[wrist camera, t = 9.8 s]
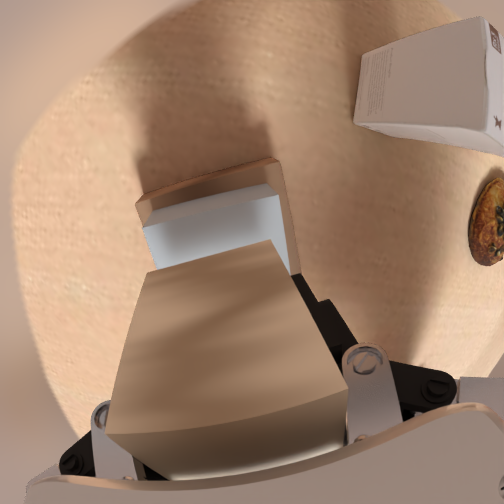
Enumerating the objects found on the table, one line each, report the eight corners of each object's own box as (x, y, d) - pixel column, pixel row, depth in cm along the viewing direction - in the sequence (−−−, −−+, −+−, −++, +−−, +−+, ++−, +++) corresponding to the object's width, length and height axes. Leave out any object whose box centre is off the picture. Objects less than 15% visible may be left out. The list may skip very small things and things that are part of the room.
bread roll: (460, 274, 26) (489, 289, 21) (460, 180, 23) (495, 186, 18) (502, 249, 27) (527, 260, 22) (503, 170, 23) (531, 175, 19)
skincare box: (394, 138, 19) (524, 171, 8) (347, 123, 18) (484, 139, 7) (403, 69, 16) (528, 63, 5) (356, 49, 15) (483, 13, 4)
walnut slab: (269, 156, 19) (279, 161, 16) (292, 267, 23) (303, 286, 20) (145, 192, 18) (134, 204, 16) (185, 297, 22) (183, 319, 20)
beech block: (270, 239, 11) (348, 388, 4) (289, 332, 13) (340, 463, 7) (147, 272, 10) (104, 433, 4) (189, 357, 13) (193, 493, 6)
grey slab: (266, 183, 16) (278, 194, 14) (283, 281, 19) (294, 306, 17) (152, 210, 16) (142, 228, 13) (185, 304, 19) (183, 332, 16)
